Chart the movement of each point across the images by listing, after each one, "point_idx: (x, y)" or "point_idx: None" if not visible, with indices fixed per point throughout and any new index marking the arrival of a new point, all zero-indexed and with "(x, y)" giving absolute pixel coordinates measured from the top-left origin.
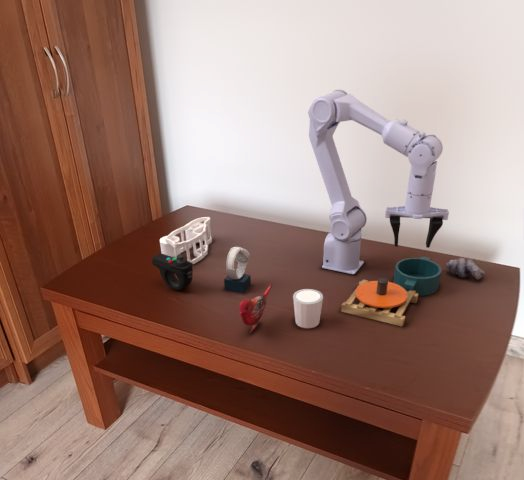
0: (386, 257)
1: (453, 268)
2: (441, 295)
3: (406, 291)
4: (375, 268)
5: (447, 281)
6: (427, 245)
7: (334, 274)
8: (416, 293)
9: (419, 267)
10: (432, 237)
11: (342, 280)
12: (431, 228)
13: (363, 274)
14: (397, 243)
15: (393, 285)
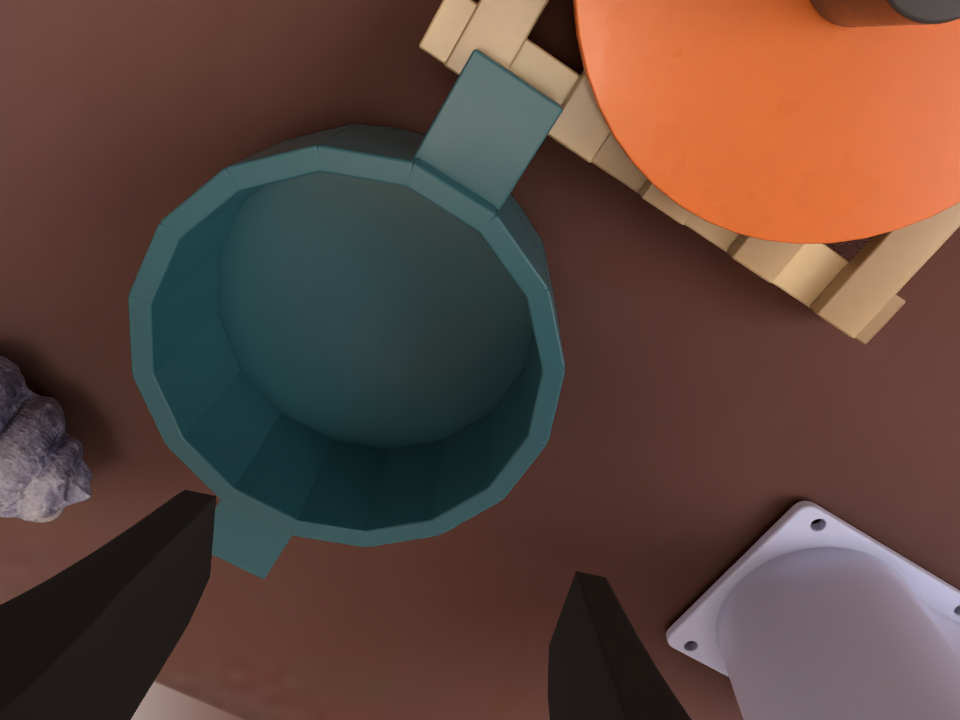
0: (483, 674)
1: (35, 422)
2: (201, 113)
3: None
4: (605, 561)
5: (120, 327)
6: (196, 507)
7: (936, 524)
8: (439, 47)
9: (308, 469)
10: (77, 571)
11: (919, 439)
12: (7, 704)
13: (723, 498)
14: (590, 596)
15: (666, 122)
